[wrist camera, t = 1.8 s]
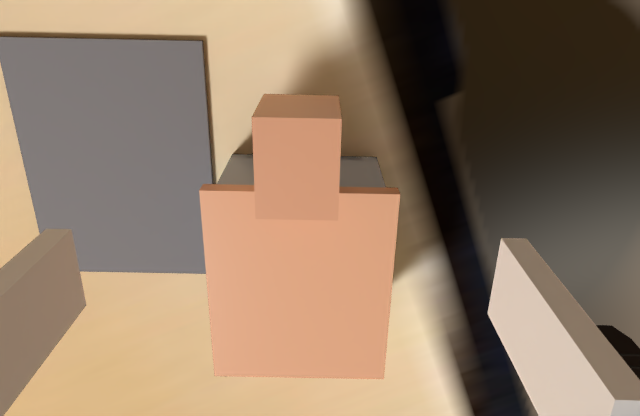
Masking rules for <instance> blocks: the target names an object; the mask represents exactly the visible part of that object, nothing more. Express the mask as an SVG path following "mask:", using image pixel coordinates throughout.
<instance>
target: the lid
mask: <svg viewBox="0 0 640 416" xmlns="http://www.w3.org/2000/svg"><path fill="white" fill-rule="evenodd" d="M341 129H342V116H341V109H340V102H339V96H338V95H288V94H264V95H263V97H262V99H261V100H260V102H259V104H258V106H257V108H256V110H255V112H254V114H253V116H252V137H253V165H254V185H232V184H203V185H202V187H201V188H200V190H199V195H200V207H201V219H202V231H203V243H204V255H205V267H206V279H207V291H208V303H209V314H210V326H211V338H212V350H213V362H214V374H215V376H239V377H295V378H350V379H384V371H385V359H386V348H387V337H388V326H389V315H390V304H391V292H392V281H393V270H394V259H395V248H396V237H397V226H398V214H399V203H400V192H399V190H398V188H388V187H339V183H340V156H341Z"/></svg>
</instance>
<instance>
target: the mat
mask: <svg viewBox="0 0 640 416" xmlns="http://www.w3.org/2000/svg"><path fill="white" fill-rule="evenodd" d="M0 62H1V67H2V71H3V75H4V80H5V84H6V88H7V93H8V97H9V102H10V106H11V110H12V115H13V119H14V123H15V128H16V132H17V136H18V141H19V145H20V150H21V154H22V158H23V163H24V167H25V171H26V176H27V180H28V184H29V189H30V193H31V198H32V202H33V206H34V211H35V215H36V219H37V224H38V228H39V232H40V234H41V233H42V232H43V231H44V230H45V229H72V235H73V240H74V245H75V250H76V255H77V260H78V265H79V270H80V271H88V272H142V273H195V274H206V267H205V255H204V243H203V231H202V219H201V207H200V195H199V190H200V188H201V187H202V185H203V184H213V177H212V163H211V149H210V135H209V121H208V107H207V93H206V78H205V64H204V50H203V41H194V40H145V39H95V38H46V37H0Z"/></svg>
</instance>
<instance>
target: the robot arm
mask: <svg viewBox="0 0 640 416" xmlns="http://www.w3.org/2000/svg"><path fill="white" fill-rule="evenodd" d="M85 306H86V301H85V296H84V291H83V286H82V281H81V276H80V270H79V265H78V260H77V255H76V250H75V245H74V240H73V235H72V229H45V230H44V231H43V232H42V233H41V234H40V235H39V236H37V237H36V238H35V239H34V240H33V241H32V242H30V243H29V244H28V245H27V246H26V247H25V248H24V249H22V250H21V251H20V252H19V253H18V254H17V255H15V256H14V257H13V258H12V259H11V260H10V261H9V262H7V263H6V264H5V265H4V266H3V267H2V268H0V416H4V414H5V413H6V412H7V410H8V409H9V408H10V406H11V405H12V404H13V402H14V401H15V400H16V398H17V397H18V396H19V394H20V393H21V392H22V390H23V389H24V388H25V386H26V385H27V384H28V382H29V381H30V380H31V378H32V377H33V376H34V374H35V373H36V372H37V370H38V369H39V368H40V366H41V365H42V364H43V362H44V361H45V360H46V358H47V357H48V356H49V354H50V353H51V352H52V350H53V349H54V348H55V346H56V345H57V344H58V342H59V341H60V340H61V338H62V337H63V336H64V334H65V333H66V332H67V330H68V329H69V328H70V326H71V325H72V324H73V322H74V321H75V319H76V318H77V317H78V315H79V314H80V313H81V311H82V310H83V309H84V307H85ZM488 315H489V317H490V319H491V321H492V323H493V325H494V327H495V329H496V331H497V333H498V335H499V337H500V339H501V341H502V343H503V345H504V347H505V349H506V351H507V353H508V355H509V357H510V359H511V361H512V363H513V365H514V367H515V369H516V371H517V373H518V375H519V377H520V379H521V381H522V383H523V385H524V387H525V389H526V391H527V393H528V395H529V397H530V399H531V401H532V403H533V405H534V407H535V409H536V411H537V413H538V415H539V416H640V348H639V347H638V346H637V345H636V344H635V343H634V342H633V341H632V339H630V338H629V337H628V336H626V335H624V334H623V333H622V332H620V331H619V330H617V329H616V328H614V327H613V326H607V325H595V324H594V323H593V321H592V320H591V319H590V317H589V316H588V315H587V314H586V313H585V311H584V310H583V309H582V308H581V306H580V305H579V304H578V302H577V301H576V300H575V299H574V298H573V296H572V295H571V294H570V292H569V291H568V290H567V289H566V288H565V286H564V285H563V284H562V283H561V281H560V280H559V279H558V278H557V276H556V275H555V274H554V273H553V271H552V270H551V269H550V268H549V266H548V265H547V264H546V263H545V261H544V260H543V259H542V258H541V256H540V255H539V254H538V253H537V251H536V250H535V249H534V248H533V246H532V245H531V244H530V243H529V241H528V240H527V239H519V238H501V243H500V248H499V253H498V259H497V264H496V270H495V276H494V281H493V287H492V292H491V298H490V303H489V309H488Z"/></svg>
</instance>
